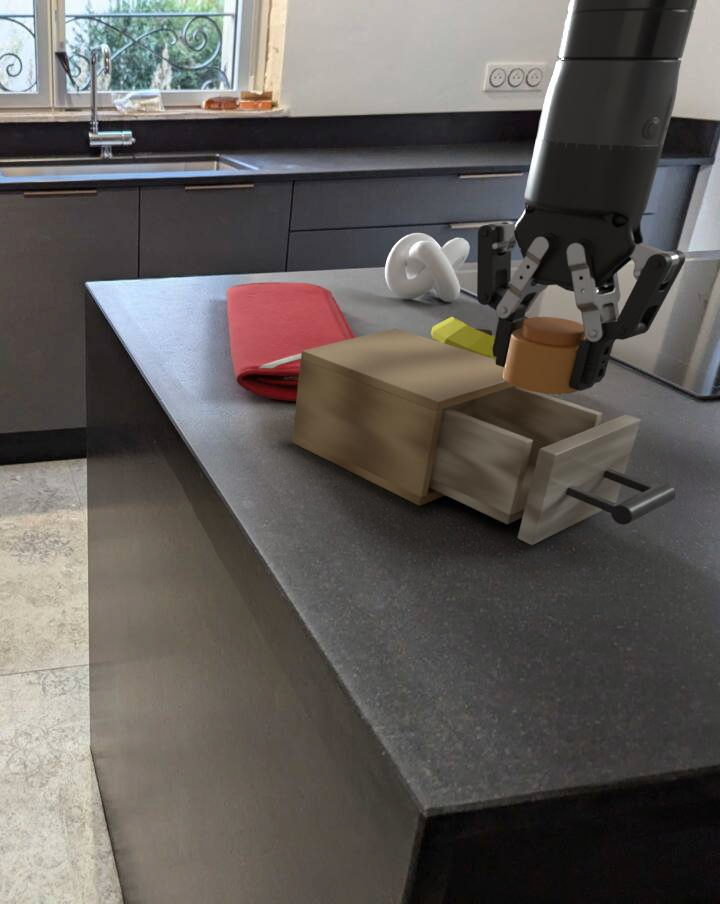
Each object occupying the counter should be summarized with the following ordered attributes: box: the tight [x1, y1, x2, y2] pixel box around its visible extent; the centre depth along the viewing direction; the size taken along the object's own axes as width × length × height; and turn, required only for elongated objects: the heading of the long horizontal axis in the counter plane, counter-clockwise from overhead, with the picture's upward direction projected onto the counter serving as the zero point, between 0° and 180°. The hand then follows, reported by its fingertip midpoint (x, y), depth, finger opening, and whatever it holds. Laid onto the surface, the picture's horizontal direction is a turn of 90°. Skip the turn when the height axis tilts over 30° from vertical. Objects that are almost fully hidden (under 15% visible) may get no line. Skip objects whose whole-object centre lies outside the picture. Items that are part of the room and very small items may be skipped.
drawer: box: [429, 386, 676, 546], centre depth 64 cm, size 18×11×7 cm, turn 33°
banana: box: [430, 316, 496, 359], centre depth 98 cm, size 5×17×15 cm
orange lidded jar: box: [503, 316, 586, 395], centre depth 61 cm, size 5×5×4 cm
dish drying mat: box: [225, 281, 357, 402], centre depth 103 cm, size 16×41×4 cm, turn 174°
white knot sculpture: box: [384, 232, 471, 303], centre depth 124 cm, size 11×12×9 cm
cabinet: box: [291, 327, 514, 507], centre depth 73 cm, size 15×13×9 cm
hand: (542, 374), depth 62 cm, fingers closed on orange lidded jar, 5 cm apart
